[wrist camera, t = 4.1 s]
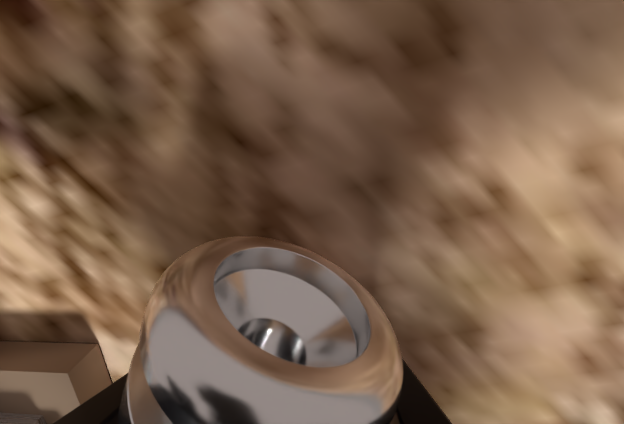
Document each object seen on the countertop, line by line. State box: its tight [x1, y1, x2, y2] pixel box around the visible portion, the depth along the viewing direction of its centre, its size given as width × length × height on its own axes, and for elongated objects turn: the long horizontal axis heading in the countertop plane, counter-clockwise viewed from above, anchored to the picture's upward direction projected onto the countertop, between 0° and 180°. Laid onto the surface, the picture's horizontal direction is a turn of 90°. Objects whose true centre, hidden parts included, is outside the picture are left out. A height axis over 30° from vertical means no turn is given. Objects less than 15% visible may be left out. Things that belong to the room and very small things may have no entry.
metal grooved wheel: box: [118, 236, 403, 424], centre depth 6 cm, size 5×3×5 cm, turn 67°
